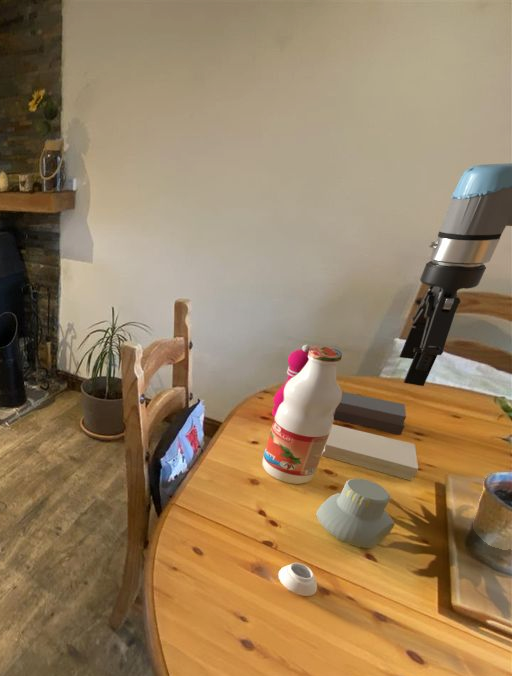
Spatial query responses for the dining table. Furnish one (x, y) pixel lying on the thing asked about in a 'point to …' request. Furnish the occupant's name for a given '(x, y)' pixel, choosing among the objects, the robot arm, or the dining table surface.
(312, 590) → the small white bowl
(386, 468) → the light grey flat block
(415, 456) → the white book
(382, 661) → the dining table surface
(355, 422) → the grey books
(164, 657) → the dining table surface
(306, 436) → the fruit juice
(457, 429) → the dining table surface
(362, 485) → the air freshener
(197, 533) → the dining table surface
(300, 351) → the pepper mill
